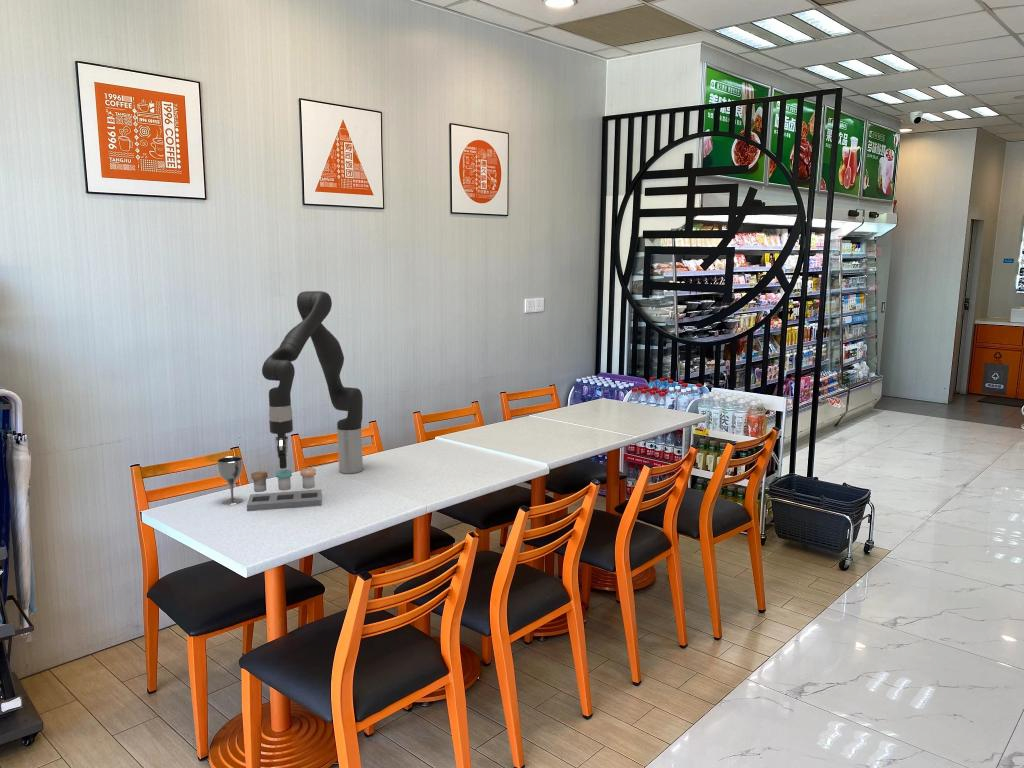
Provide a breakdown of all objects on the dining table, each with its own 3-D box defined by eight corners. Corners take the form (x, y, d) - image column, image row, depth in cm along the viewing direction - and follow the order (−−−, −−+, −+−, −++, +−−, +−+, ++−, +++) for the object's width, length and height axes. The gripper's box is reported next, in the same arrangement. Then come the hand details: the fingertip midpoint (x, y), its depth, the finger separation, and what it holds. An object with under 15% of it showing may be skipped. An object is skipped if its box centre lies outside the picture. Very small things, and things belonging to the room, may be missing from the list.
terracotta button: (301, 485, 268) (300, 468, 267) (316, 484, 269) (315, 467, 268) (300, 489, 263) (299, 472, 262) (316, 488, 264) (315, 471, 263)
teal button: (277, 487, 266) (276, 470, 265) (292, 485, 267) (292, 469, 266) (276, 491, 261) (275, 474, 260) (292, 490, 262) (291, 473, 261)
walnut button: (253, 488, 264) (252, 471, 263) (268, 487, 265) (267, 470, 264) (251, 493, 259) (250, 476, 258) (267, 492, 260) (266, 475, 259)
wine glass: (216, 504, 263) (212, 462, 261) (227, 497, 271) (224, 456, 268) (237, 505, 262) (235, 462, 260) (248, 498, 270) (246, 456, 267)
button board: (250, 499, 268) (250, 494, 267) (321, 494, 273) (321, 489, 273) (247, 511, 256) (246, 505, 256) (321, 505, 262) (320, 499, 261)
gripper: (270, 415, 265) (273, 463, 268) (267, 422, 253) (270, 473, 255) (293, 414, 267) (295, 462, 270) (291, 421, 254) (293, 472, 257)
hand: (283, 467), depth 263 cm, fingers closed
